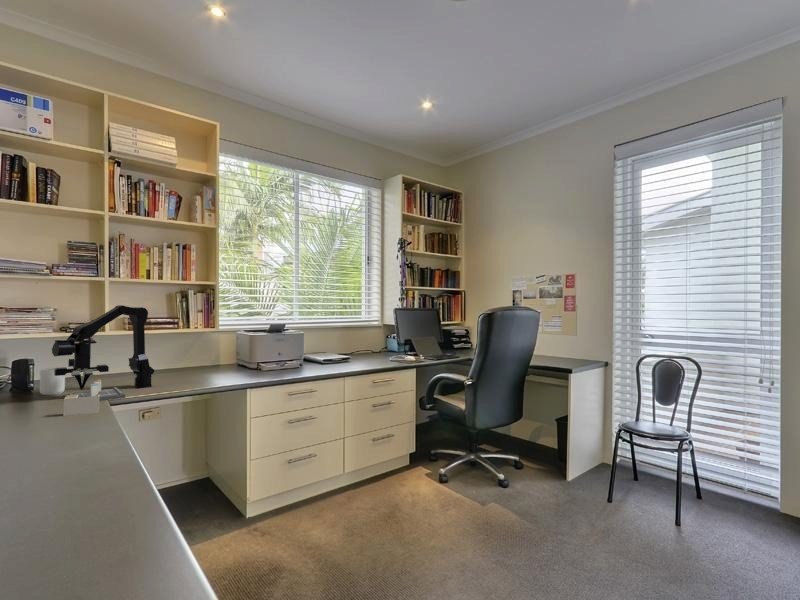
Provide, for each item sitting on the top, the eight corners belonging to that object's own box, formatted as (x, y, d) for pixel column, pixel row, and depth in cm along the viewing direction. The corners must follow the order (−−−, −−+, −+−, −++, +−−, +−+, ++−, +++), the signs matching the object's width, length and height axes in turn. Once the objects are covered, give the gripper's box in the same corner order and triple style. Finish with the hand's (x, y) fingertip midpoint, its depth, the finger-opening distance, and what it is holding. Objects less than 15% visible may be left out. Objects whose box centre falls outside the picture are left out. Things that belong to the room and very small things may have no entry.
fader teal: (97, 394, 179) (97, 383, 179) (98, 395, 177) (98, 384, 177) (90, 395, 178) (90, 383, 178) (91, 396, 175) (91, 385, 175)
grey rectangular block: (99, 389, 188) (100, 379, 188) (101, 391, 185) (101, 380, 185) (93, 390, 186) (93, 380, 186) (94, 391, 184) (94, 381, 184)
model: (65, 415, 154) (66, 394, 154) (100, 412, 159) (100, 392, 159) (63, 417, 151) (63, 396, 151) (98, 414, 156) (99, 393, 156)
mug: (61, 394, 186) (61, 370, 187) (36, 396, 183) (36, 371, 183) (69, 389, 197) (69, 366, 198) (46, 391, 194) (46, 367, 194)
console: (117, 391, 195) (117, 386, 195) (125, 397, 181) (125, 392, 181) (66, 397, 182) (66, 392, 182) (70, 404, 168) (70, 399, 168)
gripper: (105, 351, 195) (104, 384, 194) (53, 353, 182) (52, 389, 181) (109, 353, 186) (108, 387, 186) (55, 356, 174) (54, 393, 173)
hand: (81, 389), depth 182 cm, fingers closed
